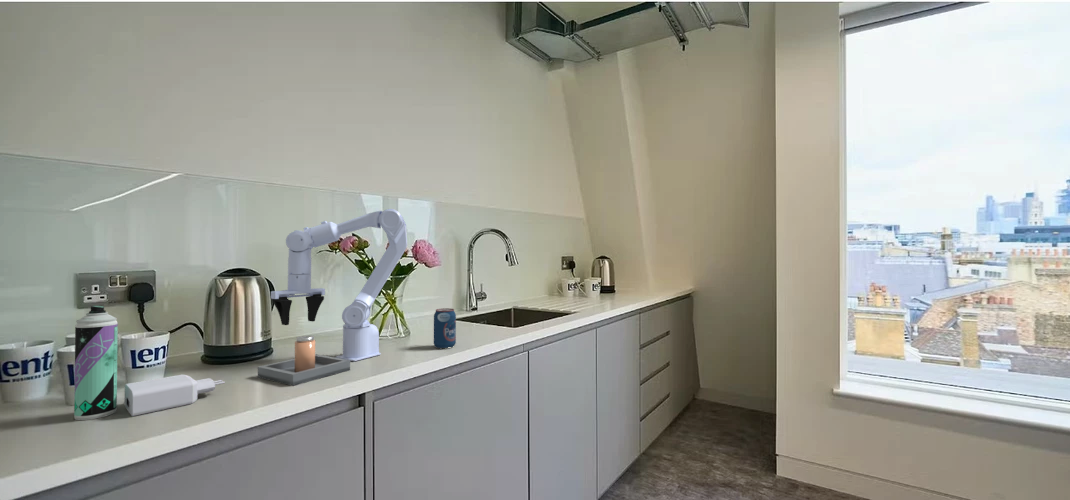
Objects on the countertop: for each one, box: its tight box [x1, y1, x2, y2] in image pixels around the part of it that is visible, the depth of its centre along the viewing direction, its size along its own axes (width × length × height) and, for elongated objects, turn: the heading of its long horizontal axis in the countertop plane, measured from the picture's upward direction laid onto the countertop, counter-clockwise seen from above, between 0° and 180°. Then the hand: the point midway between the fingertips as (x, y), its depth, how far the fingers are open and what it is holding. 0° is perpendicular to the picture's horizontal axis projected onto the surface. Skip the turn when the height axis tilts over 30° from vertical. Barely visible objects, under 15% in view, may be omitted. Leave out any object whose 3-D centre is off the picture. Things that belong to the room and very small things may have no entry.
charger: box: [123, 374, 226, 417], centre depth 87 cm, size 5×9×15 cm
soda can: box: [433, 307, 457, 349], centre depth 138 cm, size 7×7×12 cm
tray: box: [257, 353, 351, 387], centre depth 107 cm, size 15×14×2 cm
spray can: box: [73, 305, 119, 421], centre depth 79 cm, size 6×6×20 cm
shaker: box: [294, 335, 316, 372], centre depth 107 cm, size 4×4×8 cm
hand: (298, 322), depth 120 cm, fingers open, 7 cm apart
